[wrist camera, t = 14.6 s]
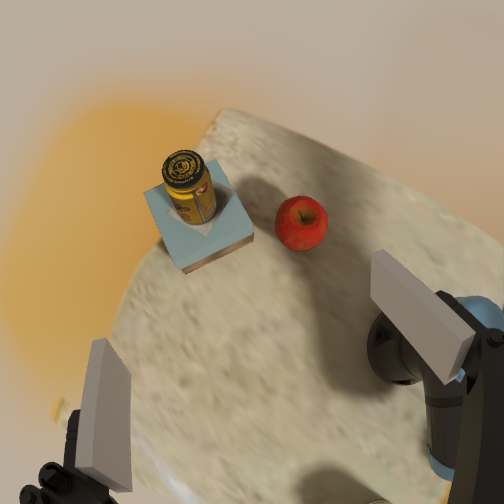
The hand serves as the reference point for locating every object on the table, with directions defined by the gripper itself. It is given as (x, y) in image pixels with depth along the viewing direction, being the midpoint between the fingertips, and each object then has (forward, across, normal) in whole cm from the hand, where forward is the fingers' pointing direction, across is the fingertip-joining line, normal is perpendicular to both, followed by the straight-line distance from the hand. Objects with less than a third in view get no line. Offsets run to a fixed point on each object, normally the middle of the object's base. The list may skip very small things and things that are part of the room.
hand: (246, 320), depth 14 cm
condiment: (+35, 0, -6) cm, 36 cm away
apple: (+36, +14, -17) cm, 42 cm away
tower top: (+38, -2, -10) cm, 39 cm away
